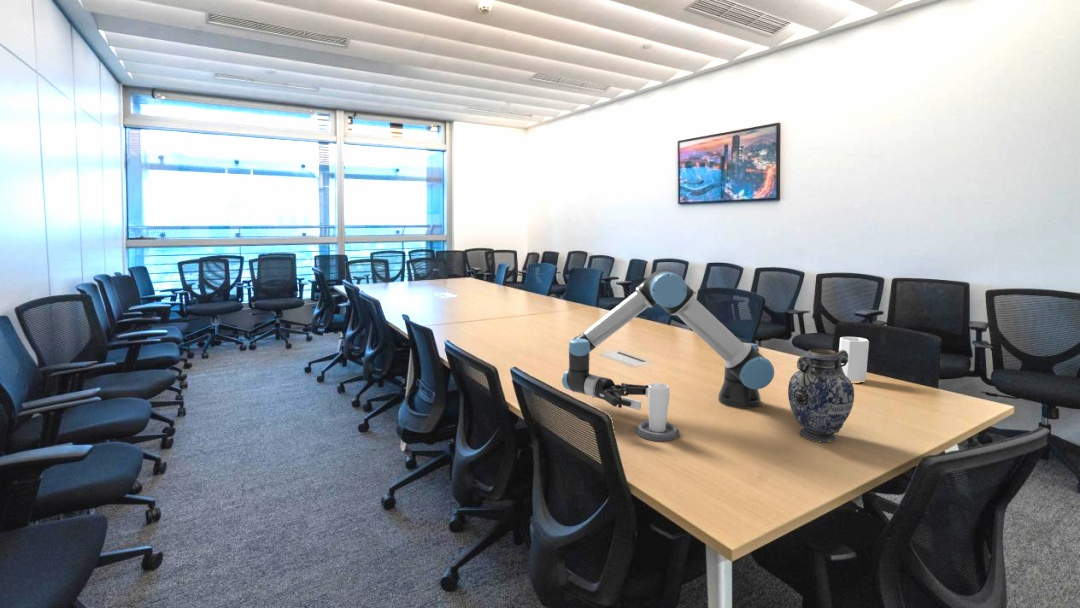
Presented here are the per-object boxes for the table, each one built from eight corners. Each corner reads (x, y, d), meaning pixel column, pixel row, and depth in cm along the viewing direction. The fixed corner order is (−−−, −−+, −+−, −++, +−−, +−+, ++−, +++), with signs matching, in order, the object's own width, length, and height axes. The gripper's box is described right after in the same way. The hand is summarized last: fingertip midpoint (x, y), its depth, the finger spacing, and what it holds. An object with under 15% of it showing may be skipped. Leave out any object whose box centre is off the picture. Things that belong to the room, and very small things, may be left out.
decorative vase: (819, 452, 158) (825, 360, 154) (769, 431, 175) (774, 348, 171) (867, 441, 166) (874, 353, 163) (816, 422, 183) (821, 342, 180)
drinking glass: (656, 435, 169) (657, 390, 167) (642, 428, 175) (643, 384, 173) (672, 431, 172) (674, 387, 170) (658, 425, 178) (660, 381, 176)
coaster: (680, 428, 178) (681, 422, 178) (677, 443, 165) (677, 437, 164) (638, 423, 182) (639, 417, 182) (632, 438, 169) (632, 432, 169)
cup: (871, 384, 227) (875, 341, 225) (845, 384, 228) (848, 341, 225) (856, 376, 238) (859, 336, 236) (831, 376, 239) (834, 336, 236)
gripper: (620, 390, 197) (671, 402, 183) (577, 406, 179) (629, 421, 165) (620, 370, 196) (672, 381, 182) (577, 384, 178) (630, 398, 164)
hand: (652, 400), depth 173 cm, fingers open, 13 cm apart
